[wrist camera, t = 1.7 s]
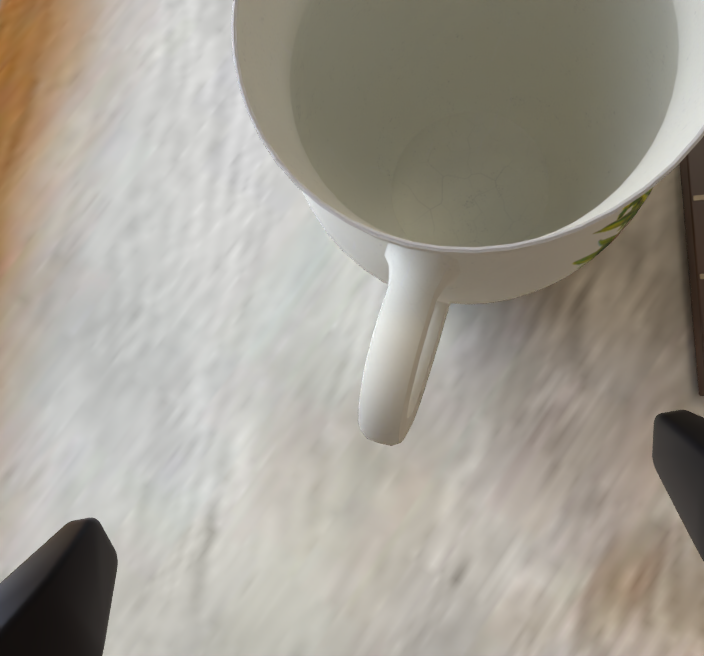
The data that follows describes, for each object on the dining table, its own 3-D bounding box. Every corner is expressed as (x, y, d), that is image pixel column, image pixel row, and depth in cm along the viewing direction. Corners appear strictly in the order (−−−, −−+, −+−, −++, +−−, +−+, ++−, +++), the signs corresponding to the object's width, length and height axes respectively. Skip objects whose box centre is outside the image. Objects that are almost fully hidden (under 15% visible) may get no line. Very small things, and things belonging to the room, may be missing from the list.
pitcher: (285, 382, 26) (87, 405, 12) (392, -13, 26) (315, -428, 12) (538, 457, 23) (641, 585, 10) (654, 25, 24) (909, -426, 10)
